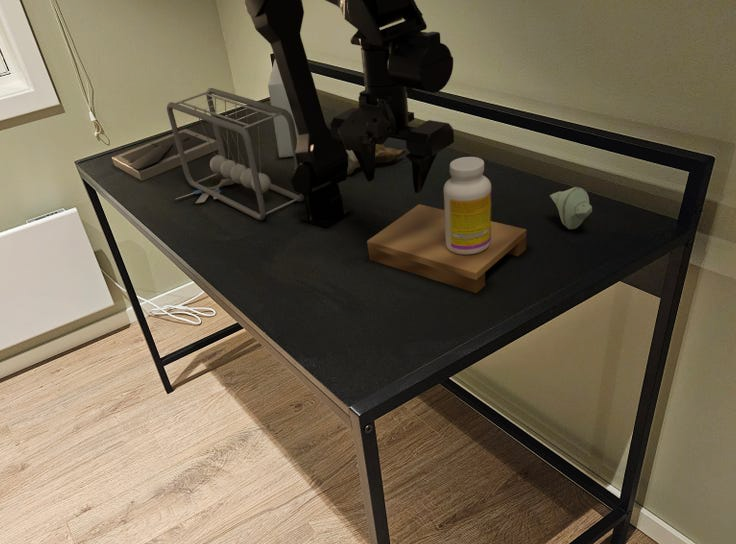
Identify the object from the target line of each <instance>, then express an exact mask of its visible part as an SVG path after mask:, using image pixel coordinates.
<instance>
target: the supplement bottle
mask: <svg viewBox="0 0 736 544" xmlns="http://www.w3.org/2000/svg"><path fill="white" fill-rule="evenodd" d="M484 171H485V161H484V160H483V159H482V158H481V157H477V156H463V157H459V158H456V159H453V160H452V161H451V162H450V164H449V174H450V176H451V177H450V178H449V179H447V180H446V182H445V183H444V185H443V206H444V207H443V210H444V213H445V238H446V246H447V248H448V249H449V250H451V251H452V252H454V253H457V254H463V255H470V254H476V253H479V252H482V251H484V250H485V249H487V248H488V247H489V245H490V243H491V221H492V183H491V180H490V179H488V177H487V176H485V175H483V174H484Z"/></svg>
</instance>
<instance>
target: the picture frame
mask: <svg viewBox="0 0 736 544" xmlns="http://www.w3.org/2000/svg"><path fill="white" fill-rule="evenodd" d="M178 132H179V135H180V139H181V143H182V146H183V150H184V154H185V157H186V161H187V163H189V162H192V161H194V160H196V159H199V158H201V157H203V156H206V155H208V154H211V153H213V151H214V152H215V151H218V150H219V147H218V146H217V140H216V139H214V138H211V137H208V136H206V135H203V134H200V133H198V132H195V131H193V130H190V129H187V128H184V129H181V130H178ZM207 137H208V139H209V141H210V143H209V141H208V139H207ZM210 144H211V146H212V148H213V150H212V148H211V146H210ZM111 159H112V162H113V165H114V167H116V168H117V169H120V170H122V171H123V172H125V173H126V174H129V175H130V176H132V177H134V178H135V179H137V180H139V181H142V182H143V181H145V180H148V179H151V178H153V177H156V176H158V175H160V174H163V173H165V172H168V171H170V170H172V169H175V168H177V167H180V166H182V163H181V159H180V156H179V152H178V148H177V145H176V141H175V138H174V134H173V133H171V134H168V135H166V136H163V137H161V138H159V139H156V140H153V141H151V142H147V143H146V144H143V145H140V146H138V147H134V148H132V149H130V150H127V151H125V152H123V153H120V154H117V155H115V156H112V157H111Z"/></svg>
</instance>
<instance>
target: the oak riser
mask: <svg viewBox="0 0 736 544" xmlns="http://www.w3.org/2000/svg"><path fill="white" fill-rule="evenodd" d="M366 243H367V250H368V251H367V252H368V260H369V261H372V262H375V263H378V264H381V265H385V266H388V267H391V268H395V269H397V270H401V271H404V272H407V273H410V274H413V275H417V276H420V277H423V278H427V279H429V280H432V281H436V282H438V283H441V284H445V285H448V286H452V287H454V288H458V289H460V290H465V291H467V292H470V293H473V294H478V292H480V291H481V290H482V289H483V288H484V287H485V286H486V272H487V271H488V270H490V269H491V268H492V267H493V266H494V265H495V264H496V263H498V262H499V260H501V259H502V258H503V257H504V256H506V255H511V256H515V257H519V256H520V255H521V254H523V253H524V252H525V251H526V250H527V228H522V227H517V226H514V225H510V224H506V223H500V222H497V221H492V220H491V243H490V245H489V247H488V248H487V249H485V250H484V251H482V252H479V253H476V254H470V255H463V254H457V253H454V252H452V251H451V250H449V249H448V248H447V246H446V238H445V213H444V209H442V208H441V209H440V208H438V207H433V206H428V205H424V204H420V203H419V204H417V205H416V206H414V207H413V208H412V209H410V210H409V211H407V212H406V213H404V214H403V215H402V216H400V217H399V218H398V219H396V220H394V221H393V222H392V223H390V224H389V225H387V226H386V227H384V228H383V229H382V230H380V231H379V232H378V233H376V234H375V235H374V236H372V237H371V238H369V239H368V240H367V241H366Z"/></svg>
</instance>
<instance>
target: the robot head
mask: <svg viewBox="0 0 736 544" xmlns="http://www.w3.org/2000/svg"><path fill="white" fill-rule="evenodd" d="M549 197H550V198H551V200H552V201H553V203H554V204H555V206H556V208H557V211H558V214H559V217H560V221H561V223H562V225H563V226H564V227H565V228H567V229H568V230H575V229H577V228H579V227H580V226H581V225H582V224H583V222H584V220H585V219H586V218H587V217H588V216H589V215H591V213H593V206H592V204H590V198H589V194H588V192H587V191H586V190H585V189H584V188H582V187H579V186H578V187H577V186H574V187H570V188H569V189H567V190H564V191H557V192H553V193H552V194H550V195H549Z"/></svg>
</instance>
